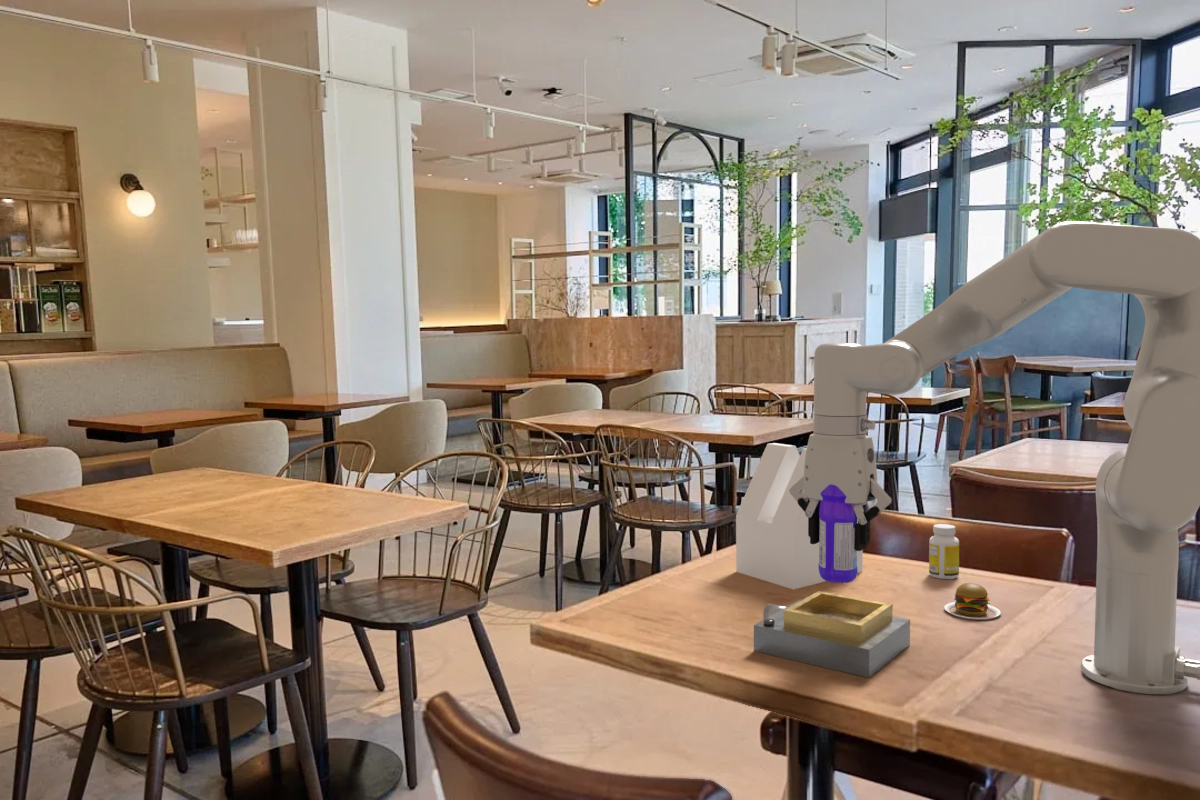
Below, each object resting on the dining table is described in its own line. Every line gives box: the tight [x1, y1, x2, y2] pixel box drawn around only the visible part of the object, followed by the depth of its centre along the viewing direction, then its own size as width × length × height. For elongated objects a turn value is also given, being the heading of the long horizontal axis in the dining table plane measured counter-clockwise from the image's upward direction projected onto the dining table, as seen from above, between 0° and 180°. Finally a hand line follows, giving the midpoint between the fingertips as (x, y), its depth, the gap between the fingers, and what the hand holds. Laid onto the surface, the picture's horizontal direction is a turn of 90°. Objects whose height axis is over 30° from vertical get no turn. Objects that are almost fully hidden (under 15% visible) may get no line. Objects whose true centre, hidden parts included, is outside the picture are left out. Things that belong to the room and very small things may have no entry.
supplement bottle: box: [928, 523, 960, 580], centre depth 177 cm, size 5×5×10 cm
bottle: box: [818, 484, 858, 584], centre depth 137 cm, size 7×6×17 cm
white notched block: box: [735, 442, 864, 590], centre depth 181 cm, size 19×15×25 cm
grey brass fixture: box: [753, 590, 911, 678], centre depth 140 cm, size 22×16×6 cm
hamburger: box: [943, 582, 1002, 621], centre depth 155 cm, size 12×12×6 cm
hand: (838, 544), depth 137 cm, fingers closed on bottle, 6 cm apart
